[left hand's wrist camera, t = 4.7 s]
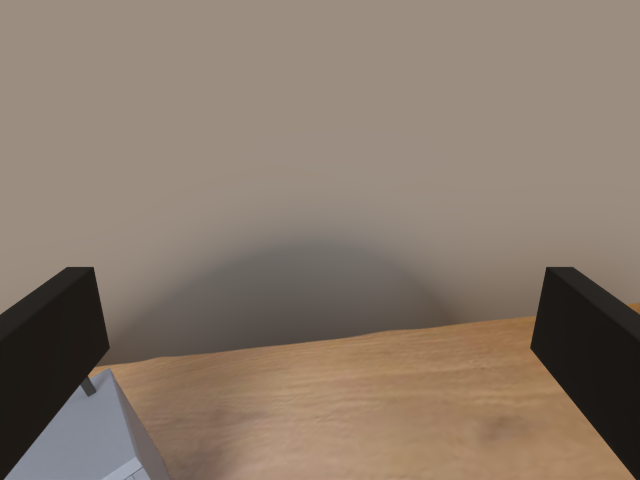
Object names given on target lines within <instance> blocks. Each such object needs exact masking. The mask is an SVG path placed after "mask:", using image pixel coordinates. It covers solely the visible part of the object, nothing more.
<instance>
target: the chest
mask: <svg viewBox="0 0 640 480" xmlns="http://www.w3.org/2000/svg"><path fill="white" fill-rule="evenodd" d="M115 381H116V379H115ZM116 384H117V387H118V390H119V393H120V396H121V399H122V402H123V406H124V409H125V412H126V415H127V418H128V421H129V424H130V428H131V431H132V434H133V437H134V440H135V443H136V446H137V450H138V453H139V456H140V459H141V462H142V465H143V467H142V468H140V469H139V470H137V471H136V472H134V473H133V474H131V475H130V476H128V477H127V478H125V479H124V480H171V479H170V476H169V474H168V471H167V469H166V466H165V464H164V461H163V459H162V456H161V455H160V453H159V451H158V450H157V448H156V446H155V445H154V443H153V441H152V440H151V438H150V436H149V435H148V433H147V431H146V430H145V428H144V426H143V424H142V423H141V421H140V419H139V418H138V416H137V414H136V413H135V411H134V409H133V408H132V406H131V404H130V403H129V401H128V399H127V398H126V396H125V394H124V393H123V391H122V389H121V388H120V386H119V384H118V383H117V381H116Z"/></svg>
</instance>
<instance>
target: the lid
mask: <svg viewBox="0 0 640 480" xmlns="http://www.w3.org/2000/svg"><path fill="white" fill-rule="evenodd" d="M142 467H143V465H142V462H141V459H140V456H139V453H138V450H137V446H136V443H135V440H134V437H133V434H132V431H131V428H130V424H129V421H128V418H127V415H126V412H125V409H124V406H123V402H122V399H121V396H120V393H119V390H118V387H117V384H116V381H115V377H114V375H113V373H112V371H111V370H110V368H108V369H107V370H105V371H103V372H101V373H99V374H98V375H96V376H94V377H92V378H90V379H89V377H88V376H87V377H86V378H85V380H84V381H83V382H82V383H81V385H80V386H79V387H78V388H77V390H76V391H75V392H74V393H73V394H72V396H71V397H70V398H69V399H68V401H67V402H66V403H65V404H64V406H63V407H62V408H61V409H60V411H59V412H58V413H57V414H56V416H55V417H54V418H53V419H52V421H51V422H50V423H49V424H48V426H47V427H46V428H45V429H44V431H43V432H42V433H41V434H40V436H39V437H38V438H37V439H36V440H35V442H34V443H33V444H32V445H31V447H30V448H29V449H28V450H27V452H26V453H25V454H24V455H23V457H22V458H21V459H20V460H19V462H18V463H17V464H16V465H15V467H14V468H13V469H12V470H11V472H10V473H9V474H8V475H7V477H6V478H5V479H4V480H124V479H125V478H127V477H128V476H130V475H131V474H133V473H134V472H136V471H137V470H139V469H140V468H142Z"/></svg>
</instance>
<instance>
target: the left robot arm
mask: <svg viewBox="0 0 640 480" xmlns="http://www.w3.org/2000/svg"><path fill="white" fill-rule="evenodd" d="M109 348H110V347H109V342H108V337H107V332H106V327H105V322H104V317H103V312H102V307H101V302H100V297H99V292H98V287H97V282H96V277H95V272H94V267H66V268H65V269H64V270H62V271H61V272H59V273H58V274H57V275H55V276H54V277H53V278H51V279H50V280H48V281H47V282H45V283H44V284H43V285H41V286H40V287H39V288H37V289H36V290H34V291H33V292H31V293H30V294H29V295H27V296H26V297H24V298H23V299H22V300H20V301H19V302H17V303H16V304H15V305H13V306H12V307H10V308H9V309H8V310H6V311H5V312H3V313H2V314H1V315H0V480H4V479H5V478H6V477H7V475H8V474H9V473H10V472H11V470H12V469H13V468H14V467H15V465H16V464H17V463H18V462H19V460H20V459H21V458H22V457H23V455H24V454H25V453H26V452H27V450H28V449H29V448H30V447H31V445H32V444H33V443H34V442H35V440H36V439H37V438H38V437H39V436H40V434H41V433H42V432H43V431H44V429H45V428H46V427H47V426H48V424H49V423H50V422H51V421H52V419H53V418H54V417H55V416H56V414H57V413H58V412H59V411H60V409H61V408H62V407H63V406H64V404H65V403H66V402H67V401H68V399H69V398H70V397H71V396H72V394H73V393H74V392H75V391H76V390H77V388H78V387H79V386H80V385H81V383H82V382H83V381H84V380H85V378H86V377H87V376H88V375H89V373H90V372H91V371H92V370H93V368H94V367H95V366H96V365H97V363H98V362H99V361H100V360H101V358H102V357H103V356H104V355H105V353H106V352H107V351H108V350H109ZM530 348H531V350H532V351H533V352H534V353H535V355H536V356H537V357H538V358H539V360H540V361H541V362H542V363H543V365H544V366H545V367H546V368H547V370H548V371H549V372H550V373H551V375H552V376H553V377H554V378H555V380H556V381H557V382H558V383H559V385H560V386H561V387H562V388H563V390H564V391H565V392H566V393H567V394H568V396H569V397H570V398H571V399H572V401H573V402H574V403H575V404H576V406H577V407H578V408H579V409H580V411H581V412H582V413H583V414H584V416H585V417H586V418H587V419H588V421H589V422H590V423H591V424H592V426H593V427H594V428H595V429H596V431H597V432H598V433H599V434H600V436H601V437H602V438H603V439H604V440H605V442H606V443H607V444H608V445H609V447H610V448H611V449H612V450H613V452H614V453H615V454H616V455H617V457H618V458H619V459H620V460H621V462H622V463H623V464H624V465H625V467H626V468H627V469H628V470H629V472H630V473H631V474H632V475H633V477H634V478H635V479H636V480H640V315H639V314H638V313H637V312H635V311H634V310H632V309H631V308H630V307H628V306H627V305H625V304H624V303H623V302H621V301H620V300H618V299H617V298H616V297H614V296H613V295H611V294H610V293H609V292H607V291H606V290H604V289H603V288H602V287H600V286H599V285H597V284H596V283H595V282H593V281H592V280H590V279H589V278H588V277H586V276H585V275H583V274H582V273H581V272H579V271H578V270H576V269H575V268H573V267H546V272H545V277H544V282H543V287H542V292H541V297H540V302H539V307H538V312H537V317H536V322H535V327H534V332H533V337H532V342H531V347H530Z"/></svg>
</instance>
